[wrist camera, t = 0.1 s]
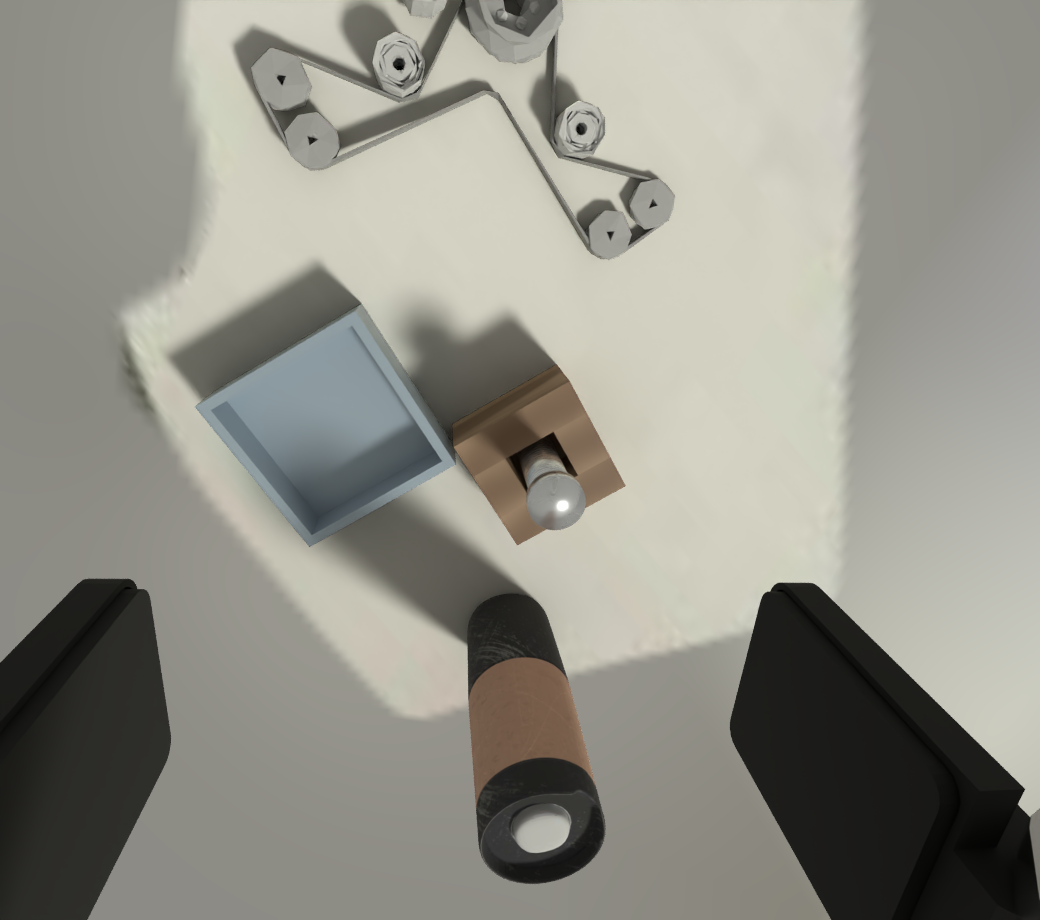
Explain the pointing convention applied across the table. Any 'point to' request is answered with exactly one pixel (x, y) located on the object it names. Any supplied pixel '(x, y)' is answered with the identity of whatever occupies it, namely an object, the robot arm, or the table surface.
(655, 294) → the table surface
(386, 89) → the pulley system
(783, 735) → the robot arm
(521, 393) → the block
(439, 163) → the table surface
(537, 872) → the travel mug
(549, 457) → the lock pin
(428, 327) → the table surface
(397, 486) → the pin tray
